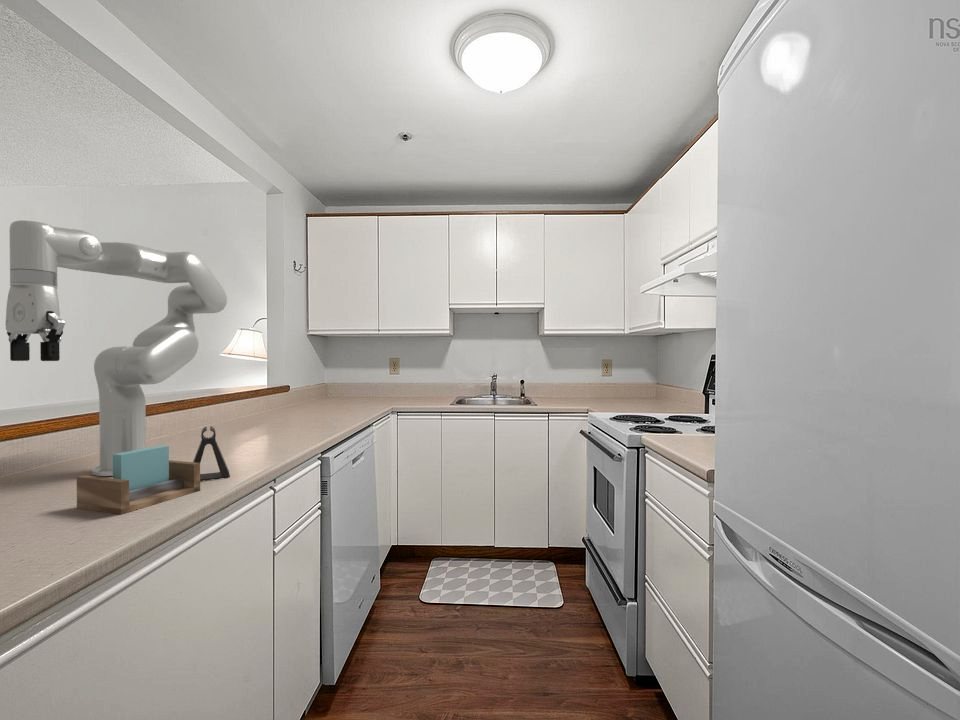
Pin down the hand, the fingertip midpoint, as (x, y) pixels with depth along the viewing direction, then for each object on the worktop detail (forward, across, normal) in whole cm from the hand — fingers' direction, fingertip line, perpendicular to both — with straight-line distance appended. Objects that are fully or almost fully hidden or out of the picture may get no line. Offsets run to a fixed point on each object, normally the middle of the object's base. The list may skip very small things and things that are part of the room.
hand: (34, 360), depth 105 cm
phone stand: (+29, +24, +22) cm, 43 cm away
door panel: (+27, +26, +4) cm, 38 cm away
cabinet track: (+28, +26, +4) cm, 39 cm away
